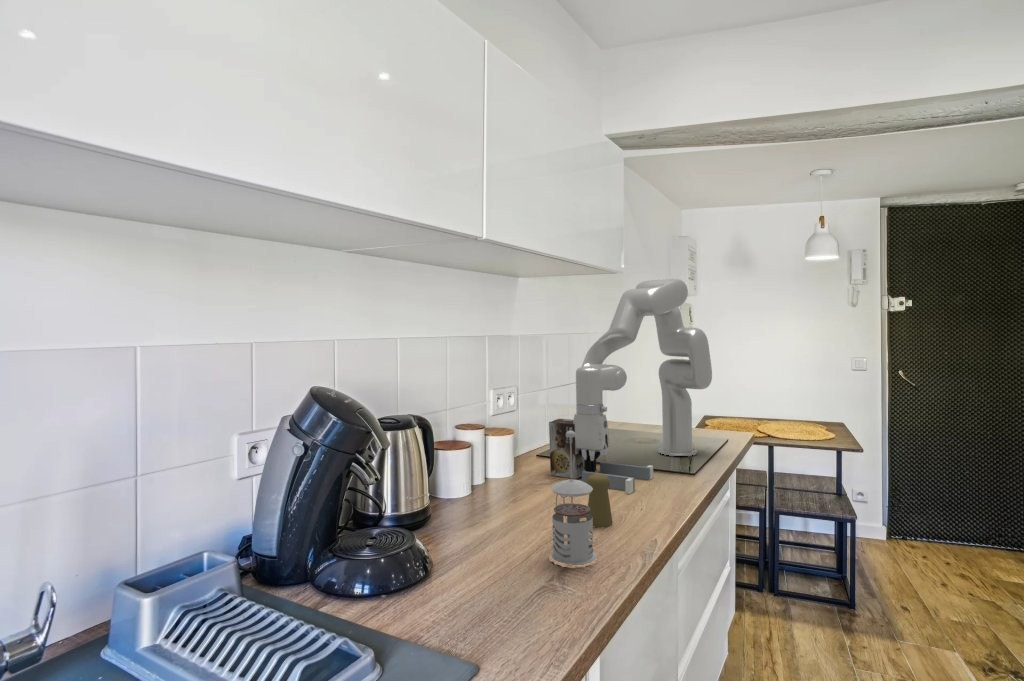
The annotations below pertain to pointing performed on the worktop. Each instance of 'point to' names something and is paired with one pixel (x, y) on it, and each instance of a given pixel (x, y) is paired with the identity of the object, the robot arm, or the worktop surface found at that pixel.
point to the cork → (599, 500)
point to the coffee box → (564, 450)
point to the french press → (572, 522)
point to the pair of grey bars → (622, 475)
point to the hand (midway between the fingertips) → (590, 473)
